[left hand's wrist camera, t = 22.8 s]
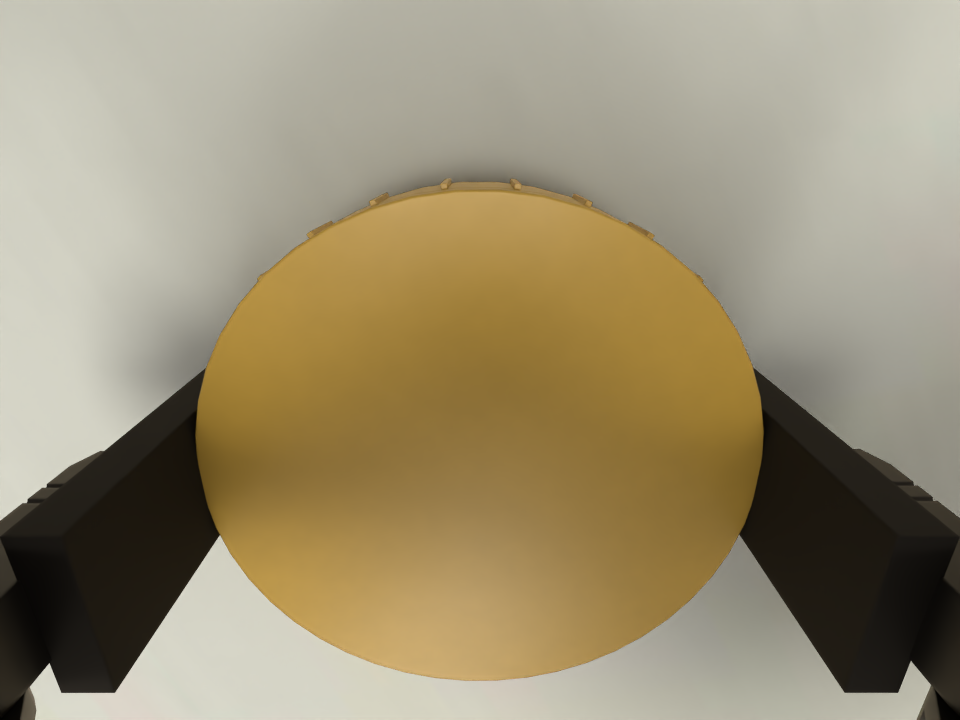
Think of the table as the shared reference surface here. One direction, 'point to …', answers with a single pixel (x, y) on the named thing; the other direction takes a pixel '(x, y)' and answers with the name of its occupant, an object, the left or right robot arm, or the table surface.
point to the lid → (479, 432)
